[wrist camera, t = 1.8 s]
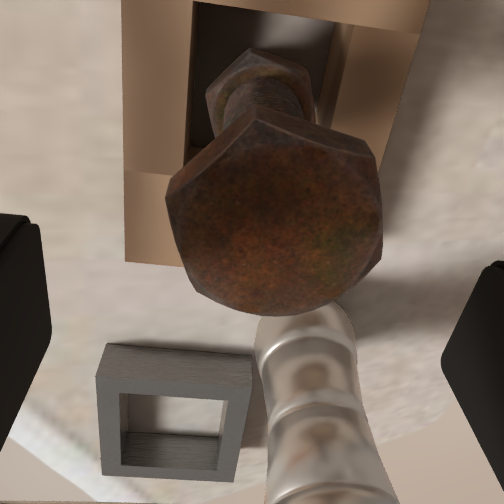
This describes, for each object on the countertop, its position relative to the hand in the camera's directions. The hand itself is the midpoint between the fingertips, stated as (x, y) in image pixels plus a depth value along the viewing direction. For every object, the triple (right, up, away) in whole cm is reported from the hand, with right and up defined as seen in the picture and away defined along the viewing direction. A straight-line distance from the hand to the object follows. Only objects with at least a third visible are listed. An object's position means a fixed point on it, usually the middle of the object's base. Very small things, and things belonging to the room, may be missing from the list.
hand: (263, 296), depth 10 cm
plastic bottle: (+3, -4, +23) cm, 23 cm away
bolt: (0, +10, +14) cm, 17 cm away
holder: (-6, -11, +27) cm, 30 cm away
